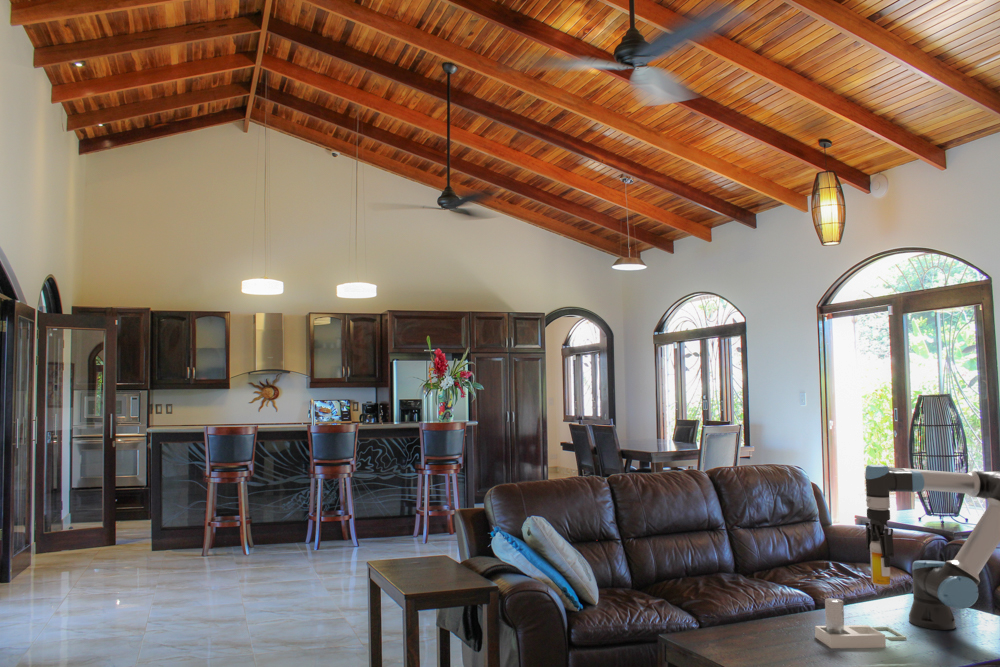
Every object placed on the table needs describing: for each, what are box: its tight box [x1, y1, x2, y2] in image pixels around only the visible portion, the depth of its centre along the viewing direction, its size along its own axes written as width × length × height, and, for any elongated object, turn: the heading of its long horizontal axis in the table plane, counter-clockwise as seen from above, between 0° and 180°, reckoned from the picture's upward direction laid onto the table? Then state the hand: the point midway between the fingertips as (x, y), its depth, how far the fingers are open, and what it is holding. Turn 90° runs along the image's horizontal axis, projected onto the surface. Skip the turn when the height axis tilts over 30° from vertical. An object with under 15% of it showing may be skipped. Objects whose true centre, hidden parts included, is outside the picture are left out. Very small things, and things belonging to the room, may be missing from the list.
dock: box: [814, 624, 887, 649], centre depth 259 cm, size 19×11×4 cm, turn 94°
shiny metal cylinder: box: [824, 597, 845, 635], centre depth 259 cm, size 6×6×14 cm
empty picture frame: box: [871, 626, 908, 641], centre depth 268 cm, size 11×11×1 cm
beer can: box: [869, 541, 891, 588], centre depth 270 cm, size 6×6×15 cm
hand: (880, 573), depth 270 cm, fingers closed on beer can, 6 cm apart
